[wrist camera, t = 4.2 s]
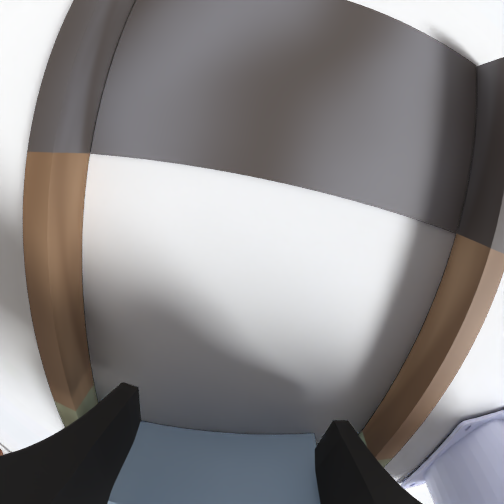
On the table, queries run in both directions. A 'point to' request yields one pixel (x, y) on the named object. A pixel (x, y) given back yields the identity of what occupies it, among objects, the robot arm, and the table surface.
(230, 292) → the table surface
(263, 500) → the blue block
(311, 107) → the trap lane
